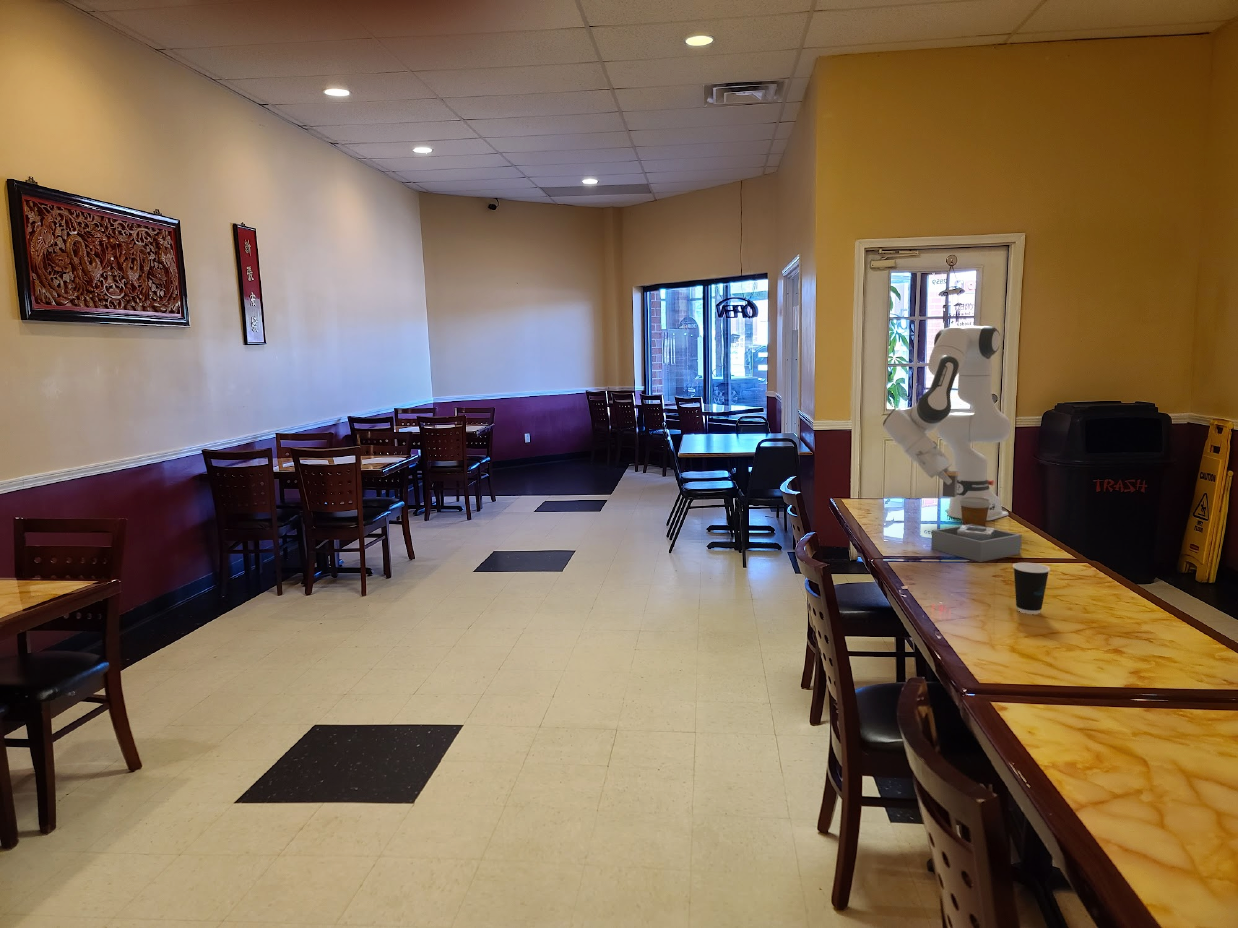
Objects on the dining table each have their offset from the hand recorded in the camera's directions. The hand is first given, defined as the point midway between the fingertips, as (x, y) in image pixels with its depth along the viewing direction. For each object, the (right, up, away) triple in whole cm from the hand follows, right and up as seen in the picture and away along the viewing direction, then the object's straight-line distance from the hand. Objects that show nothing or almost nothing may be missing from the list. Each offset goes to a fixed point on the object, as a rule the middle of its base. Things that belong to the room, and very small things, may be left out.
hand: (952, 482), depth 249 cm
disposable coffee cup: (+13, -18, +13) cm, 26 cm away
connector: (-1, -5, +1) cm, 5 cm away
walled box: (+3, -21, -10) cm, 24 cm away
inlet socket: (+3, -21, -10) cm, 24 cm away
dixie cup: (-10, -30, -65) cm, 72 cm away
